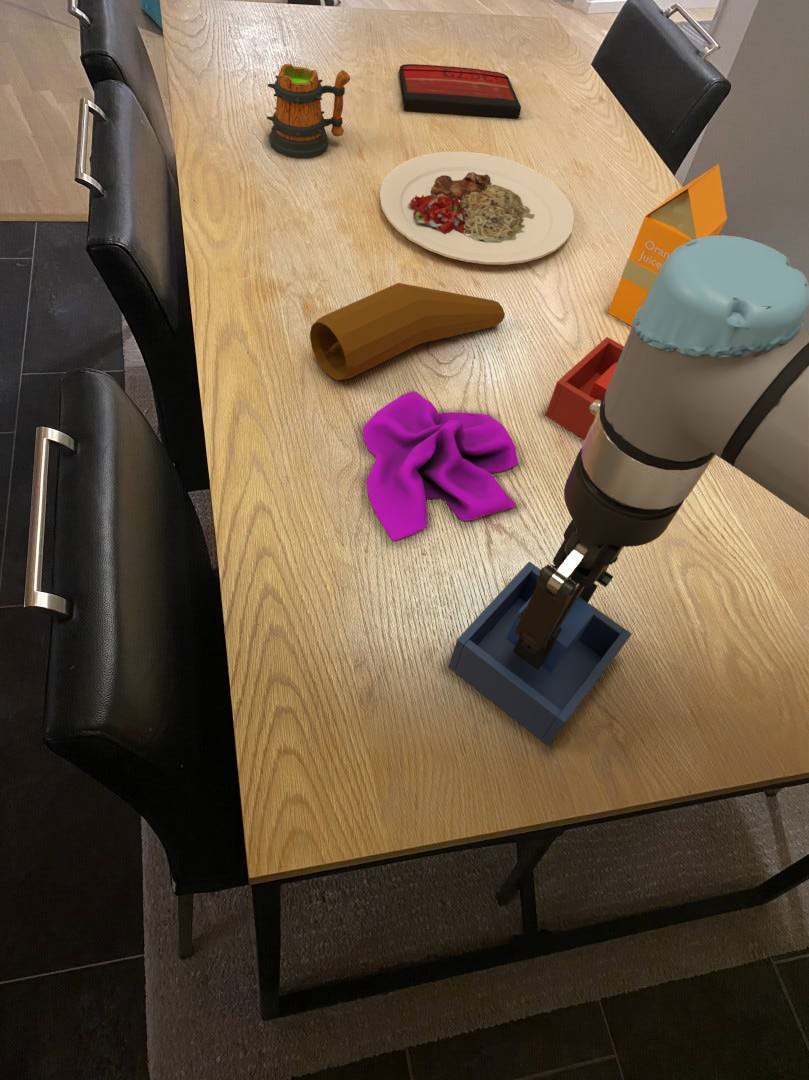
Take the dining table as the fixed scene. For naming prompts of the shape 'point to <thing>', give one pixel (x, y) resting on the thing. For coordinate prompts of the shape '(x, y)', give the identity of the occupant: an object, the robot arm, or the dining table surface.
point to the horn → (395, 326)
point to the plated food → (476, 207)
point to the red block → (602, 384)
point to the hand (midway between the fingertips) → (545, 636)
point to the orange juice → (669, 238)
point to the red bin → (581, 388)
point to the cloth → (434, 463)
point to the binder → (457, 91)
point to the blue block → (562, 631)
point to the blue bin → (515, 682)
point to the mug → (304, 112)
